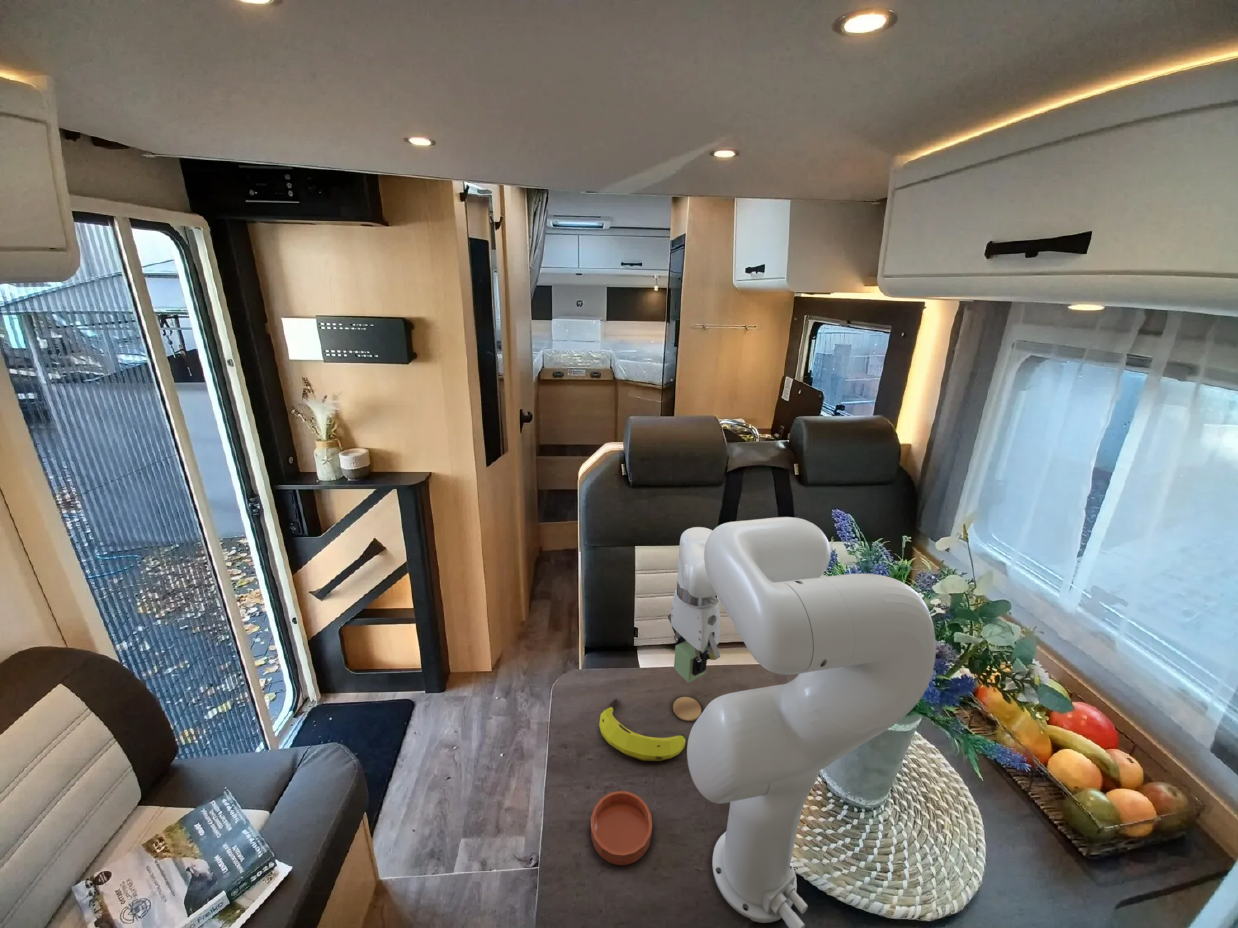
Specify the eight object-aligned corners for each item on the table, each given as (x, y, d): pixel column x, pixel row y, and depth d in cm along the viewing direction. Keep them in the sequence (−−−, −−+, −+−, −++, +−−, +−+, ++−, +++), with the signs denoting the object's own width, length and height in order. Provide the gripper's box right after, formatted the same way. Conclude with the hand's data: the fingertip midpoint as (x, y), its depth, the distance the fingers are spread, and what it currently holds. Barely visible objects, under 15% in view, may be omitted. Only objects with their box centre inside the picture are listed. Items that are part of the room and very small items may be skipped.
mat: (706, 712, 103) (707, 711, 102) (685, 725, 99) (685, 724, 99) (688, 693, 107) (688, 692, 107) (667, 705, 104) (667, 704, 104)
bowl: (663, 842, 79) (664, 830, 78) (611, 881, 74) (611, 869, 72) (629, 791, 87) (629, 779, 86) (579, 823, 81) (579, 811, 80)
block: (705, 673, 99) (707, 650, 97) (688, 683, 97) (690, 659, 95) (690, 659, 103) (692, 637, 101) (673, 668, 100) (675, 645, 98)
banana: (690, 750, 90) (681, 695, 104) (598, 743, 90) (601, 689, 104) (688, 770, 91) (679, 713, 105) (596, 764, 90) (600, 708, 105)
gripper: (743, 606, 88) (733, 683, 94) (682, 563, 101) (677, 633, 108) (712, 621, 84) (704, 700, 91) (654, 574, 97) (651, 646, 104)
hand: (690, 663), depth 99 cm, fingers closed on block, 4 cm apart
